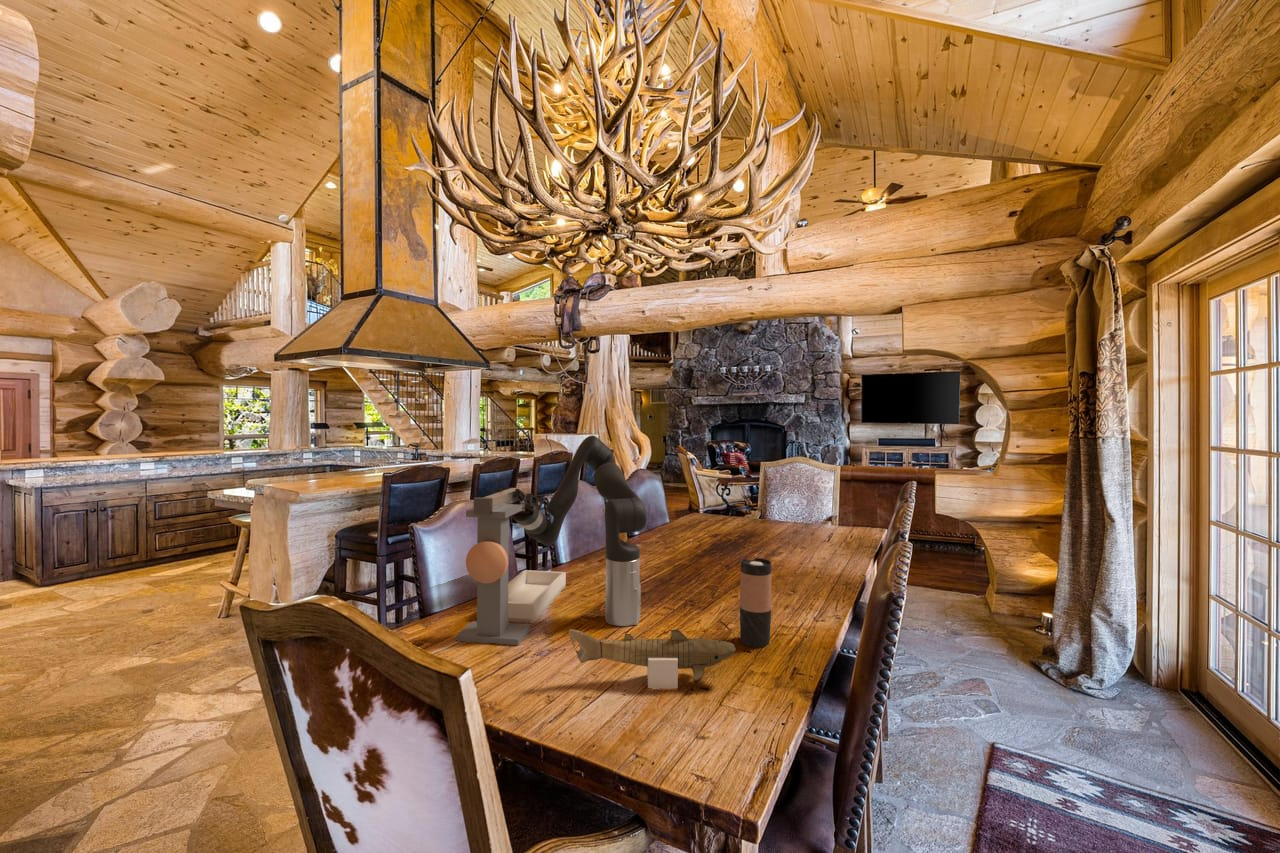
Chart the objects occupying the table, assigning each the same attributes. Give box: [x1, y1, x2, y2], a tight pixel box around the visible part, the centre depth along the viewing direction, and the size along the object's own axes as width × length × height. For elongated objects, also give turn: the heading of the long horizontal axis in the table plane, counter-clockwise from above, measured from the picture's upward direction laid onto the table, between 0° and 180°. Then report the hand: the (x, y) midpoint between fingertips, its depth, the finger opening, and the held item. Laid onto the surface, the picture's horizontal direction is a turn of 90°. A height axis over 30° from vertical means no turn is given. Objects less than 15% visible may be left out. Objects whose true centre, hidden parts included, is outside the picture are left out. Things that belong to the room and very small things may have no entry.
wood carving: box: [568, 629, 736, 690], centre depth 110 cm, size 9×35×11 cm, turn 91°
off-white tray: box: [508, 569, 567, 624], centre depth 157 cm, size 14×30×5 cm, turn 172°
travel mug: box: [739, 557, 772, 648], centre depth 130 cm, size 8×8×20 cm
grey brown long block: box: [473, 487, 523, 515], centre depth 135 cm, size 4×22×4 cm, turn 172°
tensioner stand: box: [455, 504, 532, 647], centre depth 132 cm, size 16×11×32 cm
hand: (507, 491), depth 140 cm, fingers open, 4 cm apart
